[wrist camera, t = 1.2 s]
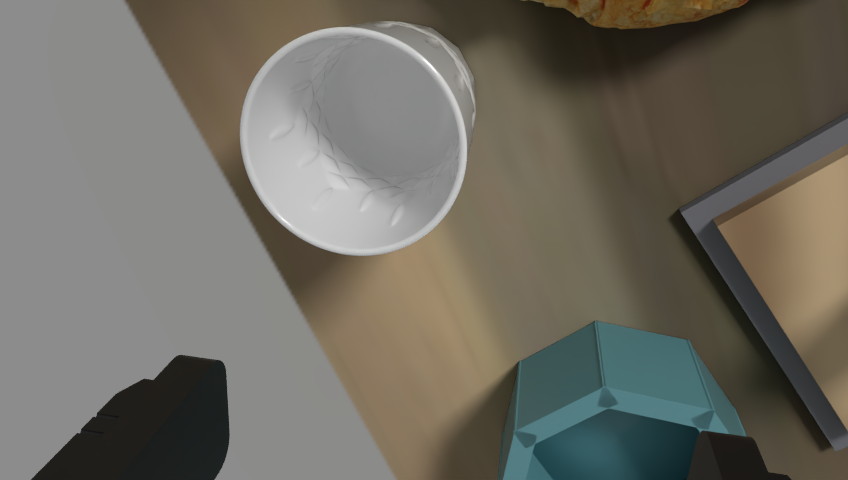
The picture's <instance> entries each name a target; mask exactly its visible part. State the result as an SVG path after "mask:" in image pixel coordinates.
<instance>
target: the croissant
mask: <svg viewBox="0 0 848 480" xmlns="http://www.w3.org/2000/svg"><path fill="white" fill-rule="evenodd" d="M522 1H527V0H522ZM531 1H536V2H541V3H544V4H545V6H550V7H558V8H565V9H567V10H568V11H570V12H572V13H573V14H574V15H575V16H576V17H584V19H585V20H586V21H587V22H588V23H590V24H592V25H593V26H597V27H603V28H613V27H615V28H619V29H633V28H654V27H659V26H663V25H668V24H675V23H684V22H693V21H698V20H701V19H703V18H706V17H709V16H712V15H716V14H719V13H723V12H725V11H727V10H729V9H732V8H738V7H740V6H742V5H744V4H745V3H747V2H748V1H749V0H531Z"/></svg>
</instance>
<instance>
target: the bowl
mask: <svg viewBox="0 0 848 480" xmlns="http://www.w3.org/2000/svg"><path fill="white" fill-rule="evenodd" d="M703 430H704V431H711V432H718V433H725V434H732V435H739V436H746V434H745V431H744V429H743V426H742V424H741V421H740V419H739V417H738V414H737V412H736V409H735V407H733V406H732V404H731V403H730V401H729V400H728V398H727V397H726V395H725V394H724V392H723V391H722V390H721V388H720V387H719V385H718V384H717V382H716V381H715V379H714V378H713V376H712V375H711V373H710V372H709V370H708V369H707V367H706V366H705V364H704V363H703V361H702V360H701V358H700V357H699V356H698V354H697V353H696V351H695V350H694V348H693V347H692V345H691V343H690V340H688V339H686V340H685V339H680V338H676V337H671V336H666V335H661V334H656V333H651V332H647V331H642V330H637V329H632V328H627V327H622V326H618V325H613V324H608V323H603V322H598V321H594V322H593V323H591V324H590V325H588V326H586V327H584V328H582V329H580V330H578V331H576V332H575V333H573V334H571V335H569V336H567V337H565V338H563V339H562V340H560V341H558V342H556V343H554V344H552V345H550V346H548V347H547V348H545V349H543V350H541V351H539V352H537V353H535V354H534V355H532V356H530V357H528V358H526V359H524V360H522V361H520V362H519V363H518V371H517V375H516V379H515V384H514V388H513V392H512V397H511V401H510V405H509V409H508V414H507V418H506V422H505V427H504V431H503V432H502V440H501V450H500V460H499V470H498V480H687V478H688V474H689V470H690V466H691V461H692V457H693V453H694V449H695V445H696V441H697V438H698V436H699V434H700V432H701V431H703ZM746 437H747V436H746Z"/></svg>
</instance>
